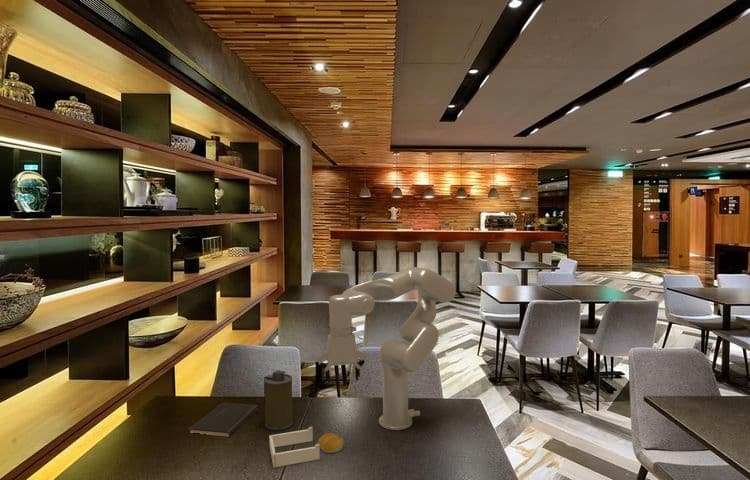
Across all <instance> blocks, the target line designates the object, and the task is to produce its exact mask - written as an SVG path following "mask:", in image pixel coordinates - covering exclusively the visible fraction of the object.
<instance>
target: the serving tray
mask: <svg viewBox="0 0 750 480" xmlns="http://www.w3.org/2000/svg"><path fill="white" fill-rule="evenodd" d="M313 433H314V430H313V426H309V427H308V428H306V429H302V430H295V431H290V432H289V431H288V432H284V433H277V434H271V435H270V434H269V440H268V441H269V450H270V451H269V452H270V456H271V462H272V468H279V467H284V466H290V465H294V464H301V463H306V462H312V461H313V462H314V461H317V460H320V459H321V456H320V454H321V453H320V450H321V449H320V445H319V444H318V443H316V444H314V446H311V447H310V446H309V447H304V448H299V449H293V450H288V451H287V450H286V451H282V452H276V449H275V448H279V447H285V446H291V445H297V444H304V443H308V442H313V441H314V439H313V437H314V436H313Z"/></svg>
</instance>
